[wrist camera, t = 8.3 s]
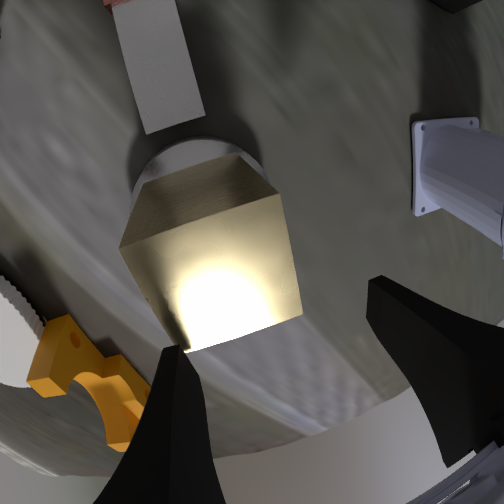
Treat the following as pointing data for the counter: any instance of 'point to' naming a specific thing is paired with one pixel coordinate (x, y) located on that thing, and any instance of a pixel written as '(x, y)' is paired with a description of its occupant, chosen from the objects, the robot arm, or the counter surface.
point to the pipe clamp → (89, 378)
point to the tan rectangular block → (212, 252)
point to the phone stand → (454, 4)
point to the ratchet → (165, 86)
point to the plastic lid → (17, 335)
